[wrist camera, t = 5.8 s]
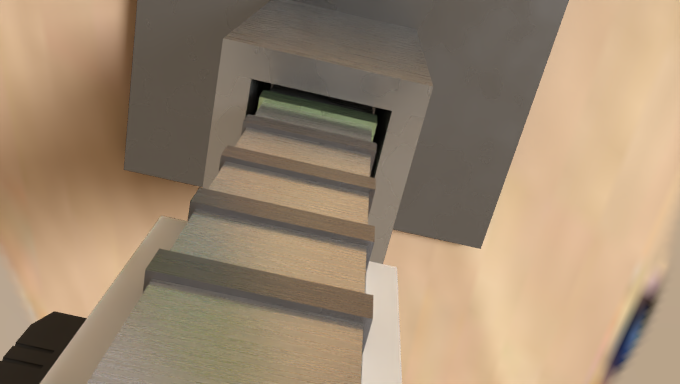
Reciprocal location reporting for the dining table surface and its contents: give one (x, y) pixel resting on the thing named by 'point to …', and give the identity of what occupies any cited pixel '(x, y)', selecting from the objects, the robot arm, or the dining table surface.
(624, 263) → the dining table surface
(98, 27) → the dining table surface
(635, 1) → the dining table surface
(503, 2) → the stand
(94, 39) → the dining table surface
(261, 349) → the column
